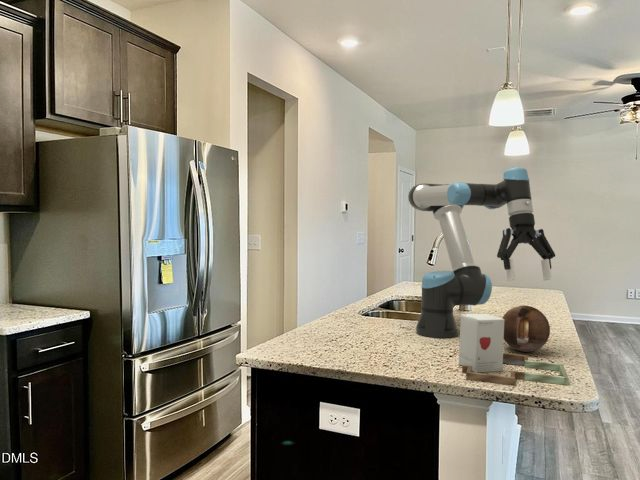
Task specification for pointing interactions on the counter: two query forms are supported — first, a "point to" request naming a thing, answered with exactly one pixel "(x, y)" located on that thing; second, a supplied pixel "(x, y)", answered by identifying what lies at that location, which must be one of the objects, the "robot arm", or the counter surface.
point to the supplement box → (481, 342)
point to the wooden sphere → (525, 328)
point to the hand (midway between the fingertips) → (529, 280)
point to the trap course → (520, 361)
